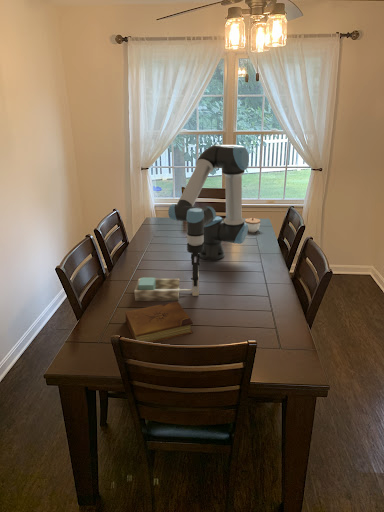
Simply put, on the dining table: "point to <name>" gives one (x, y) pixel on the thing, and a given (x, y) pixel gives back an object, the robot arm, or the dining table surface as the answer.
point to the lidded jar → (252, 224)
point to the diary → (158, 322)
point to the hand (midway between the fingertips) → (195, 284)
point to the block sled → (151, 285)
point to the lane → (159, 291)
